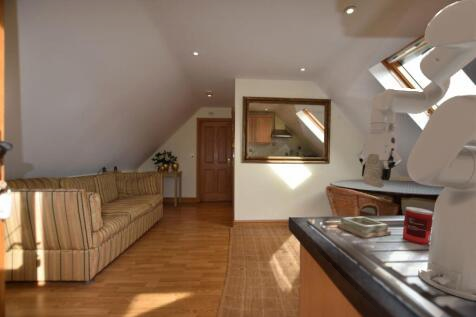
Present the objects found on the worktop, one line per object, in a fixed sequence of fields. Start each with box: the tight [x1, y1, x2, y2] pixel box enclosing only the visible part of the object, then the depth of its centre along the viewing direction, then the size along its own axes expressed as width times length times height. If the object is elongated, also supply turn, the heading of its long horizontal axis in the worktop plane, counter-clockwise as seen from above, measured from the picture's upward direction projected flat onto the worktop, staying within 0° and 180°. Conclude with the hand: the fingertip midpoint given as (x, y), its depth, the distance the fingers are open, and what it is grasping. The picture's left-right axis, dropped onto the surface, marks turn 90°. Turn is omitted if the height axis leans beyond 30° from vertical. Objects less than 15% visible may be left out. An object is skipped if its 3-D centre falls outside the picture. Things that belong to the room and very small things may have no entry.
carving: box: [362, 154, 387, 189], centre depth 86 cm, size 6×8×12 cm
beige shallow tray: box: [336, 216, 392, 239], centre depth 90 cm, size 14×12×4 cm
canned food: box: [402, 206, 434, 246], centre depth 83 cm, size 8×8×11 cm
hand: (374, 177), depth 86 cm, fingers closed on carving, 7 cm apart
